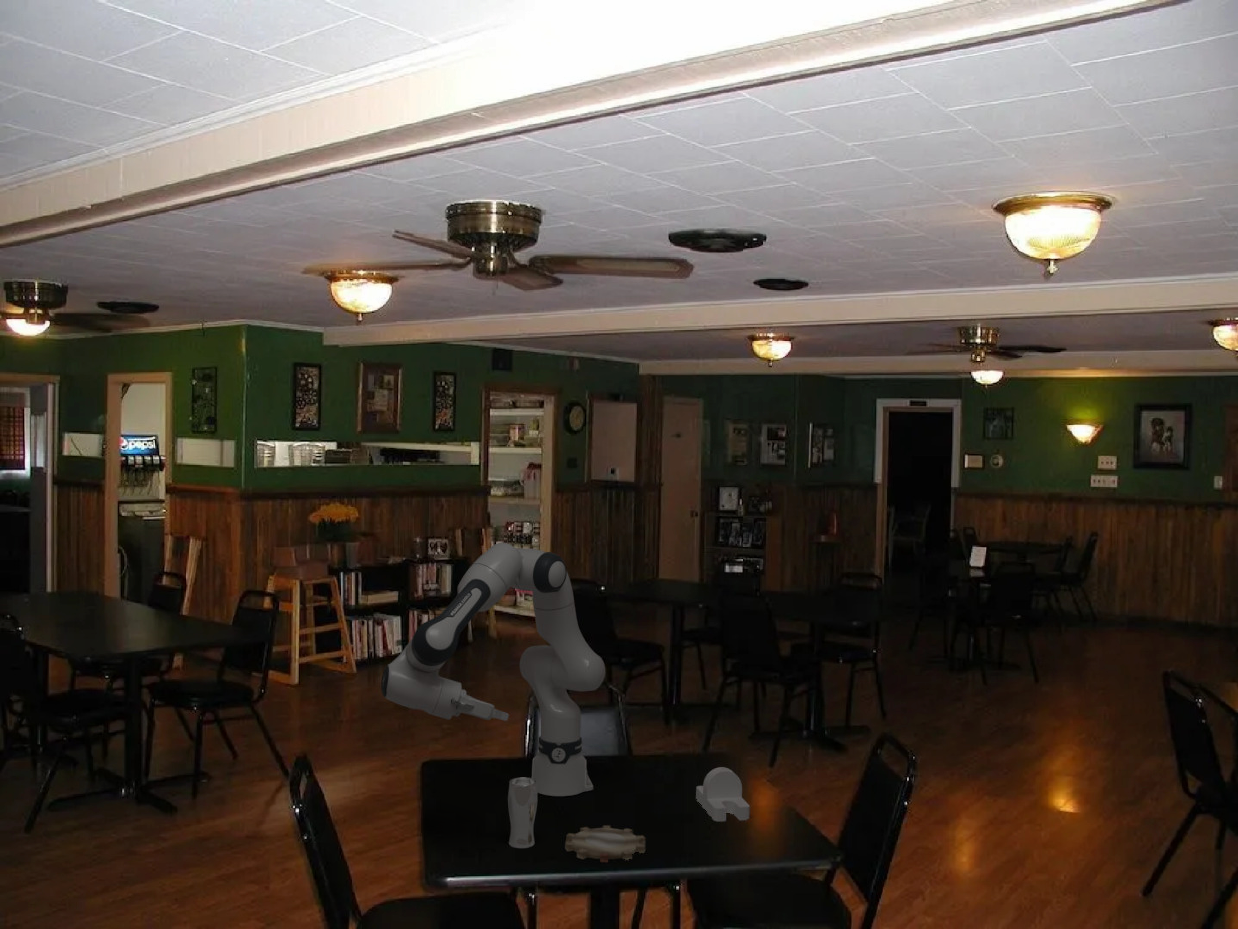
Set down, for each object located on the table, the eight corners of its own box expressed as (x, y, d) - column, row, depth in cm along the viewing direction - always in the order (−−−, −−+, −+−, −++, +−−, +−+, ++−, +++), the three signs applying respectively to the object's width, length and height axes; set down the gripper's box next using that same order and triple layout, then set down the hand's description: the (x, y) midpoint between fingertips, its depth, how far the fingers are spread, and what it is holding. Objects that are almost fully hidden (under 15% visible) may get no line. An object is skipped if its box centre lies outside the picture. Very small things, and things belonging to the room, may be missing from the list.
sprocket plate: (568, 830, 272) (568, 824, 272) (644, 832, 272) (645, 826, 272) (562, 861, 253) (563, 854, 253) (645, 863, 253) (645, 857, 253)
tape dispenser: (714, 822, 281) (715, 781, 281) (694, 799, 299) (696, 760, 299) (750, 820, 283) (751, 779, 283) (728, 797, 301) (729, 758, 301)
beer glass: (501, 843, 263) (502, 781, 263) (523, 836, 268) (525, 775, 267) (519, 851, 258) (521, 788, 258) (542, 844, 263) (543, 782, 262)
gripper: (460, 688, 250) (516, 705, 253) (445, 684, 269) (498, 700, 272) (451, 715, 248) (508, 732, 252) (437, 709, 267) (490, 725, 271)
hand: (503, 716), depth 262 cm, fingers open, 8 cm apart
